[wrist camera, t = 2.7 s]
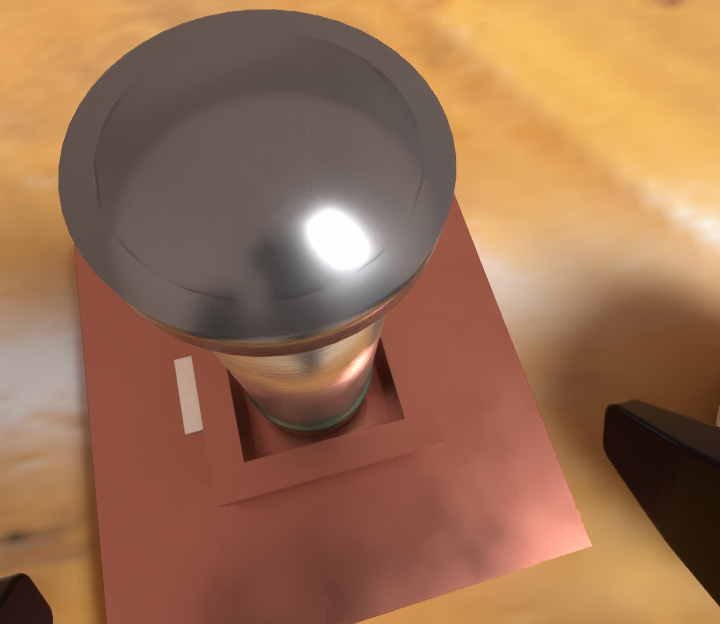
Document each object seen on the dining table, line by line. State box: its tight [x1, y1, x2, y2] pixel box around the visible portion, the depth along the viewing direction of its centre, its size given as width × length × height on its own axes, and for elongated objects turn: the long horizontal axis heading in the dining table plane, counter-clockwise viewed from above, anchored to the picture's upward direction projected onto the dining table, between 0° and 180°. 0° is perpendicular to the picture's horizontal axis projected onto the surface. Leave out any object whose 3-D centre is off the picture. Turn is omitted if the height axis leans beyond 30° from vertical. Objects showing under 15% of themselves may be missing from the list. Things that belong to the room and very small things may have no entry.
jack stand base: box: [74, 195, 592, 624], centre depth 18 cm, size 16×16×4 cm
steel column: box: [59, 10, 456, 436], centre depth 12 cm, size 5×5×13 cm
